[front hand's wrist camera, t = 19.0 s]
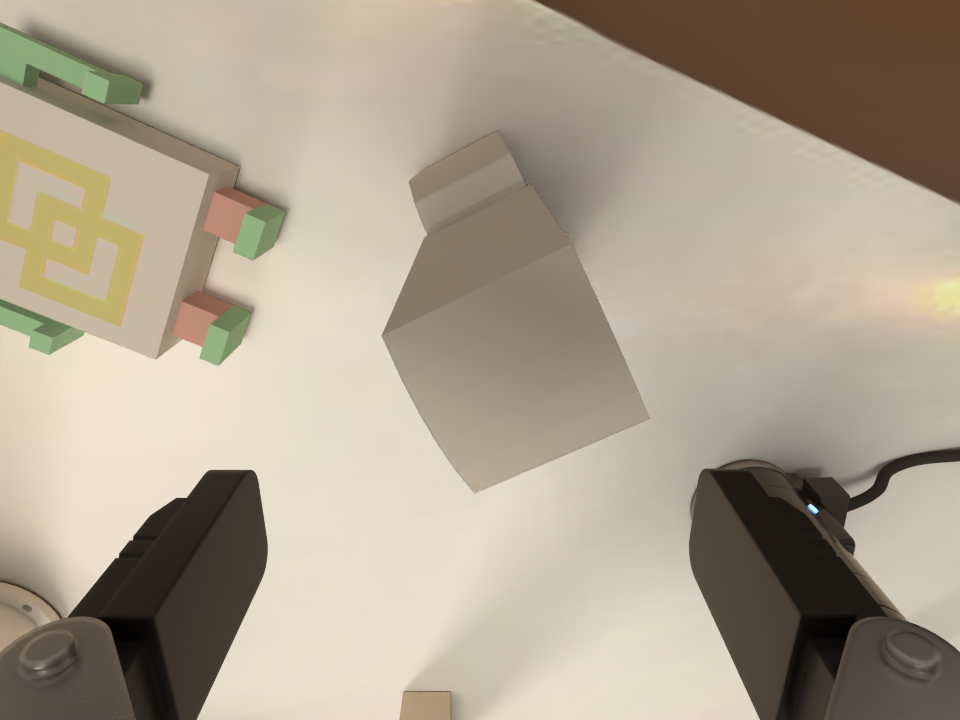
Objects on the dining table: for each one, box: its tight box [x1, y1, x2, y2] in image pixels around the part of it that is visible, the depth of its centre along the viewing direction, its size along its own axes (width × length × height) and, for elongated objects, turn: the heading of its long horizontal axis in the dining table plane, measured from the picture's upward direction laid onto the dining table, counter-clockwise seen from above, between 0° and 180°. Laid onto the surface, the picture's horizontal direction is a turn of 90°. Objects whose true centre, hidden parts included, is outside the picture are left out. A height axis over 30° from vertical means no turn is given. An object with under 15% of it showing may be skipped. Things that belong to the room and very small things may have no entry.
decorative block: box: [0, 22, 285, 366], centre depth 44 cm, size 26×6×20 cm
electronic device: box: [382, 130, 650, 493], centre depth 34 cm, size 12×8×30 cm, turn 27°
